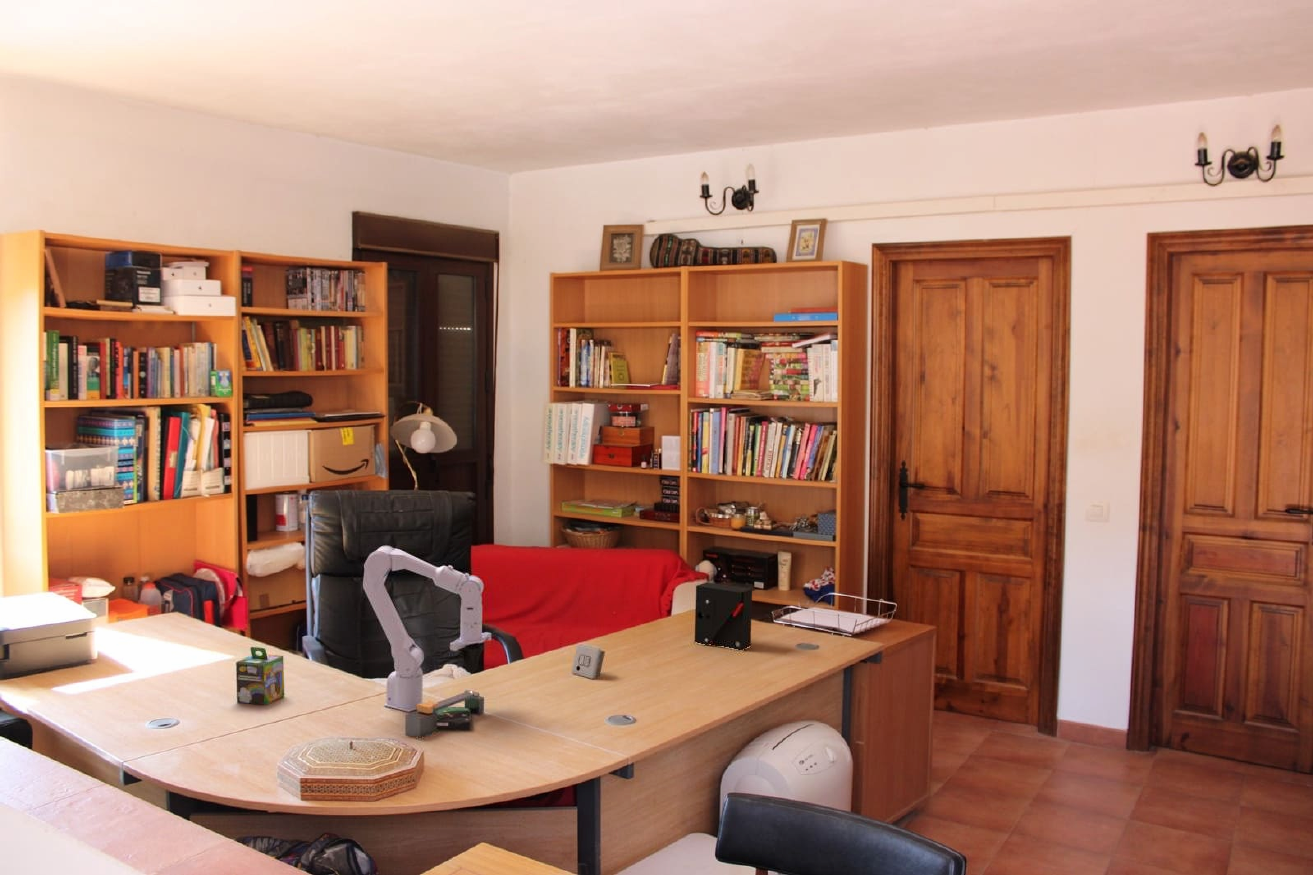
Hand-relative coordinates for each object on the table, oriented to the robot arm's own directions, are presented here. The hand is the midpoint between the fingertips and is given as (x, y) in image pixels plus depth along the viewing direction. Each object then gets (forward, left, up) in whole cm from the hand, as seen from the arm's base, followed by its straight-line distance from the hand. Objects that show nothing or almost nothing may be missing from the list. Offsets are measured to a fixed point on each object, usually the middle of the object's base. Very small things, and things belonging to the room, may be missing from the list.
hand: (470, 671), depth 291 cm
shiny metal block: (+4, -14, -10) cm, 18 cm away
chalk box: (-51, -28, -10) cm, 59 cm away
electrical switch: (+8, +44, -10) cm, 46 cm away
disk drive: (+4, -12, -11) cm, 17 cm away
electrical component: (+25, +100, -10) cm, 104 cm away
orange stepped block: (+4, -21, -5) cm, 21 cm away
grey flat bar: (+4, -12, -5) cm, 14 cm away
